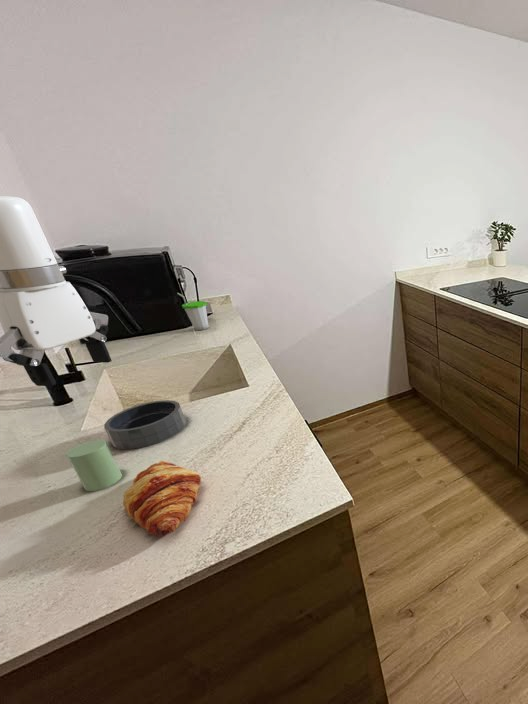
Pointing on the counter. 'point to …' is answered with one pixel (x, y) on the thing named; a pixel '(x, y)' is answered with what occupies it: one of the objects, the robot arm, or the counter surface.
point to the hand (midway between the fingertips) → (76, 372)
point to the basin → (145, 424)
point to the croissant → (161, 497)
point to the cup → (196, 313)
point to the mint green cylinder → (94, 465)
